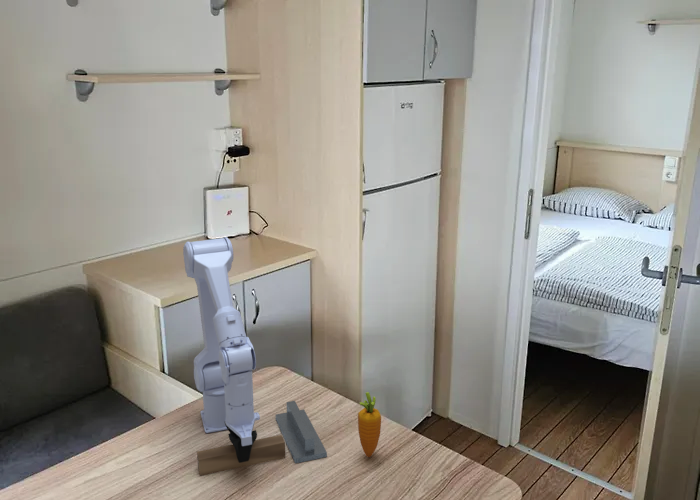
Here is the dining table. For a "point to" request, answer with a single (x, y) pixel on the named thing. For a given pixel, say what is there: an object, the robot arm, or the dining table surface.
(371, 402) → the carrot
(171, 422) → the dining table surface
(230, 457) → the walnut rod
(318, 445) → the stand
